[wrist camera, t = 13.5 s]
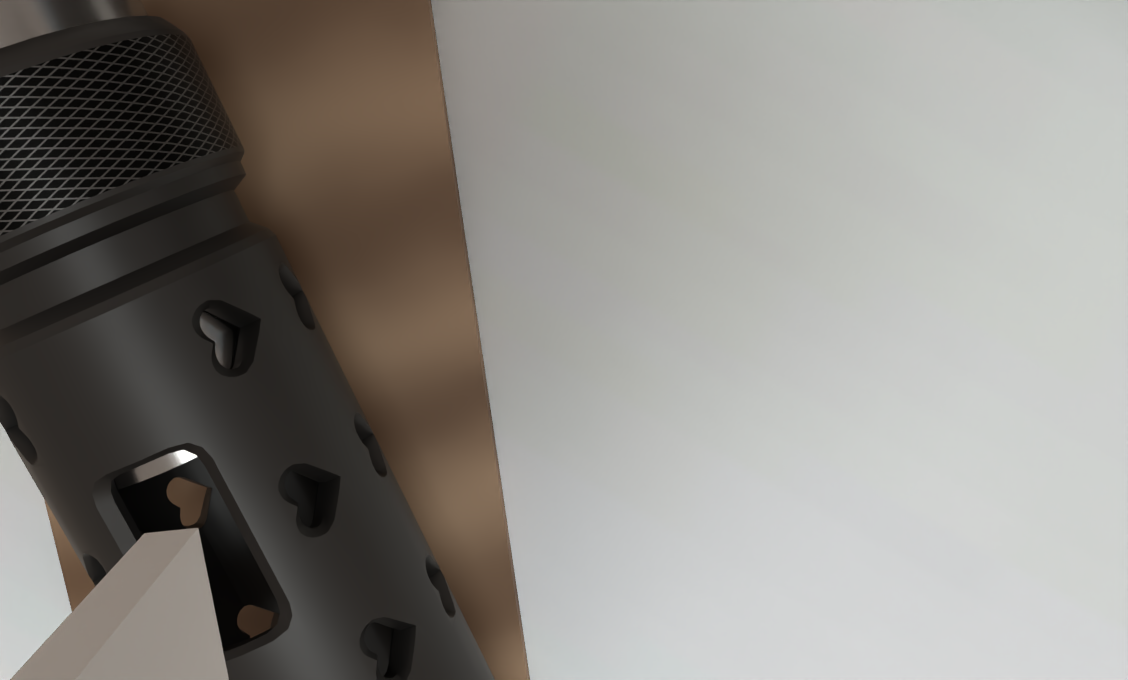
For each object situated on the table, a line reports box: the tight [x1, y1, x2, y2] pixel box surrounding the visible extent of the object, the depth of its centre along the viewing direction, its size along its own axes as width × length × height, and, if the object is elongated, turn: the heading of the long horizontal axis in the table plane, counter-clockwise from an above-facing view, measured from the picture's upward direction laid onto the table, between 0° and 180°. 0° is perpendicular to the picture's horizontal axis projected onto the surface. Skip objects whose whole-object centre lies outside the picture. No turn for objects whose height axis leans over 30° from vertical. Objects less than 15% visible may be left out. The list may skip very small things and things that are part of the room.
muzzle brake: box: [0, 0, 495, 680], centre depth 32 cm, size 10×28×10 cm, turn 23°
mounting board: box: [44, 0, 530, 680], centre depth 36 cm, size 36×16×4 cm, turn 7°
